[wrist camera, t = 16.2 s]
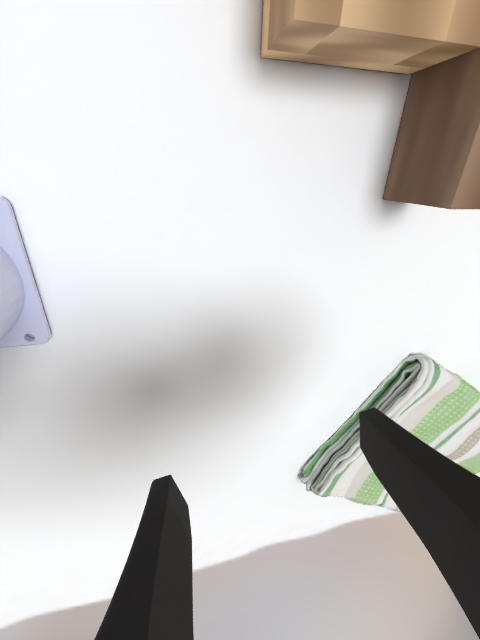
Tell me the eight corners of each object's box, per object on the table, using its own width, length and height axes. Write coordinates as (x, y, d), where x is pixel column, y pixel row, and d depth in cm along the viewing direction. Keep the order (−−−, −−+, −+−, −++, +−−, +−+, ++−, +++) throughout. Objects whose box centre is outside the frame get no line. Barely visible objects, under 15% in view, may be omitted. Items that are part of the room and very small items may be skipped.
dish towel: (412, 342, 25) (446, 366, 22) (517, 417, 35) (550, 441, 32) (291, 469, 30) (305, 504, 27) (413, 504, 40) (434, 532, 37)
